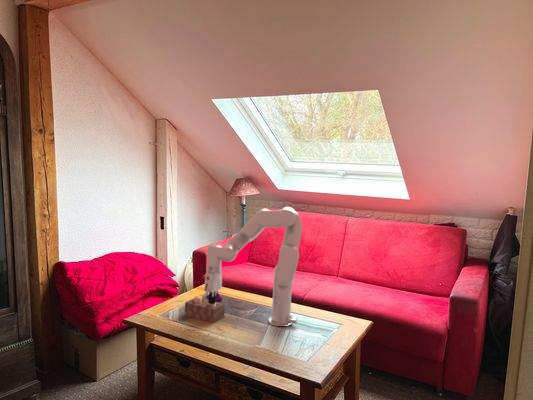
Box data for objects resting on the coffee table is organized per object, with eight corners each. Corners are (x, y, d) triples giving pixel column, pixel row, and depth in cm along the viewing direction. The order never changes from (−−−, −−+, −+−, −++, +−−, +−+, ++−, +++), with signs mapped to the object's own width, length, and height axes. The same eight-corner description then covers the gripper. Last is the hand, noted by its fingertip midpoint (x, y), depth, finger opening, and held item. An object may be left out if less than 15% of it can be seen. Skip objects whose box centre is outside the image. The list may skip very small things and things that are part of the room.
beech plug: (217, 316, 210) (217, 303, 209) (212, 318, 206) (213, 305, 206) (210, 314, 212) (211, 301, 211) (206, 316, 208) (206, 303, 207)
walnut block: (224, 316, 211) (224, 303, 211) (213, 323, 202) (214, 309, 202) (196, 309, 219) (196, 297, 219) (184, 315, 210) (185, 302, 210)
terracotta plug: (202, 309, 214) (203, 297, 213) (198, 312, 210) (199, 299, 209) (196, 308, 215) (197, 295, 215) (192, 310, 212) (192, 297, 211)
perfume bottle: (205, 302, 231) (207, 271, 230) (218, 301, 235) (219, 270, 233) (209, 306, 225) (211, 275, 223) (222, 305, 228) (223, 274, 226)
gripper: (211, 273, 198) (209, 309, 200) (227, 266, 212) (225, 300, 213) (199, 270, 201) (197, 306, 203) (215, 264, 215) (213, 297, 217)
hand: (211, 303), depth 208 cm, fingers closed
